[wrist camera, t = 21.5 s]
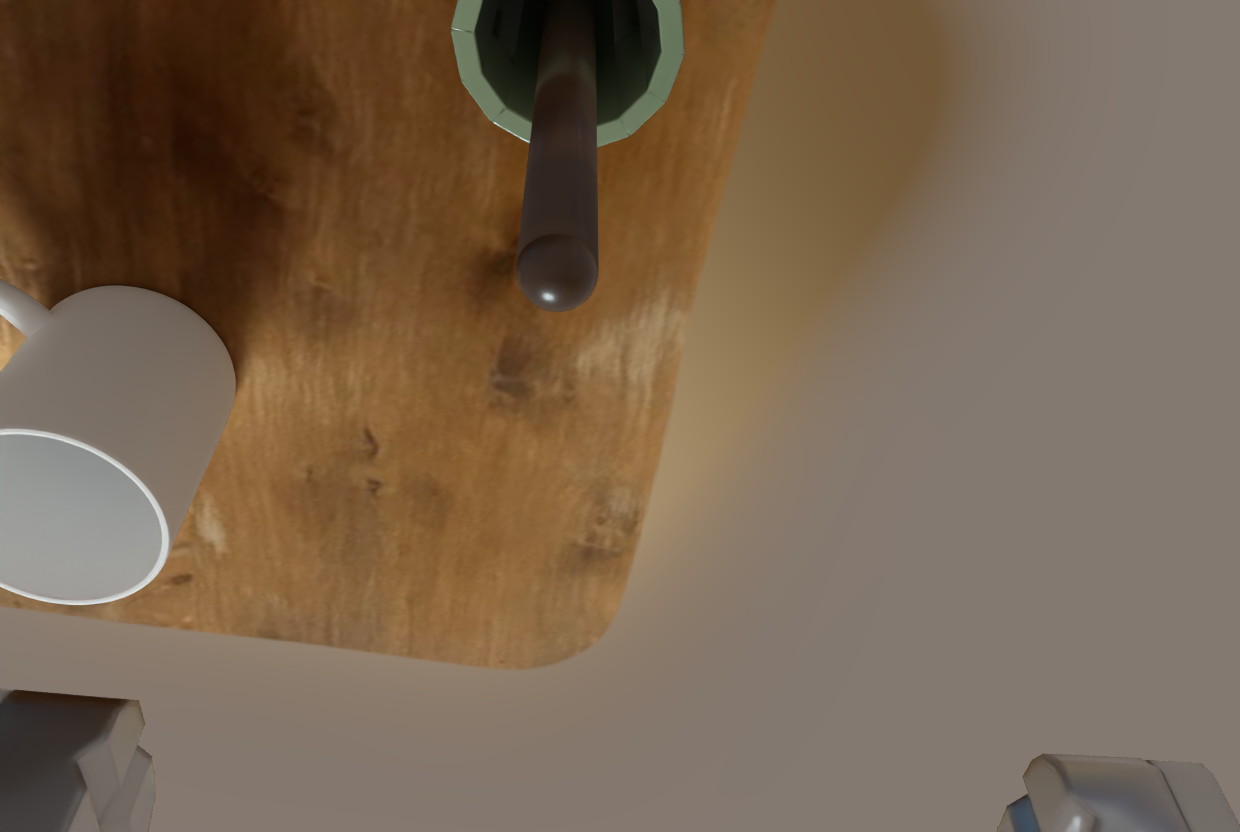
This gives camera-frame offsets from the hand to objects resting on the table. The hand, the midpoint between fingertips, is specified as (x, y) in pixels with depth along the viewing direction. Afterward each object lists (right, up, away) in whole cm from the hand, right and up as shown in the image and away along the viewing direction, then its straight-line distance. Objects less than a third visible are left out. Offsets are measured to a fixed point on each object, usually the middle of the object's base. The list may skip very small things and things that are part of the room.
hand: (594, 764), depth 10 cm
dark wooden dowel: (-1, +19, +27) cm, 34 cm away
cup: (-21, +7, +37) cm, 43 cm away
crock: (-1, +20, +28) cm, 34 cm away
